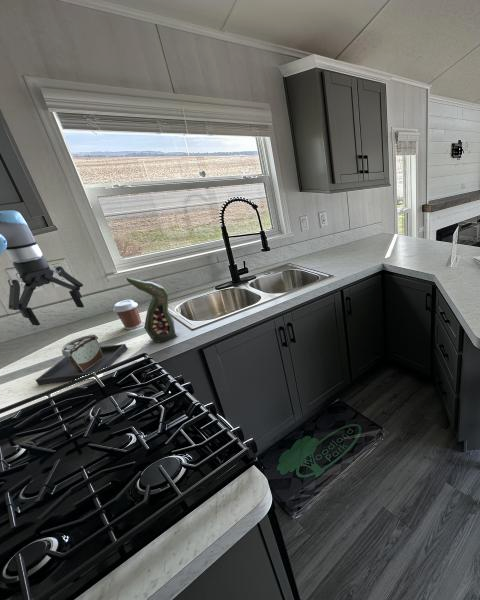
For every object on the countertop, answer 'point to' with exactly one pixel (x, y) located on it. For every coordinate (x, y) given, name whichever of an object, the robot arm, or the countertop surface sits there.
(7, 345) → the countertop surface
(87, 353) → the food container
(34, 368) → the countertop surface
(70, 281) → the robot arm
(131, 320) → the coffee cup
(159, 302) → the tentacle
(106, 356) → the storage tray
